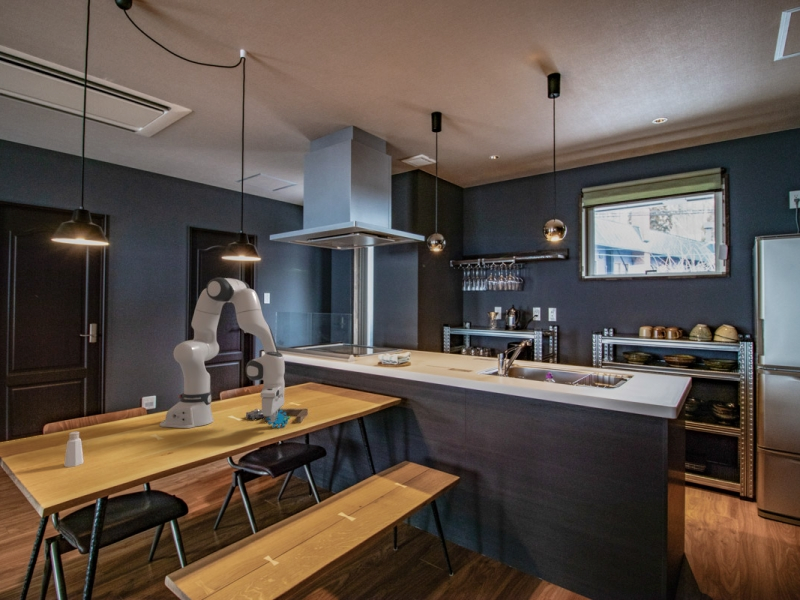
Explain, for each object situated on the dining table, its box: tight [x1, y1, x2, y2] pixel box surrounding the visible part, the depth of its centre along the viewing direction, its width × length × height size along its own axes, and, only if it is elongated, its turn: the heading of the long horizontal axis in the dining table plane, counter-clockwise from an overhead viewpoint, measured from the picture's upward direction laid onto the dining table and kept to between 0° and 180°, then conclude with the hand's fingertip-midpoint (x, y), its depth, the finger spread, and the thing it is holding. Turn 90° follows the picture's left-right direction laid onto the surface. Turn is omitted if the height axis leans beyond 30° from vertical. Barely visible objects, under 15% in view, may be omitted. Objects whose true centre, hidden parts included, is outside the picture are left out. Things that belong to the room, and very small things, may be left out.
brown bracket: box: [263, 408, 309, 424], centre depth 204 cm, size 17×15×3 cm
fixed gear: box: [245, 408, 264, 421], centre depth 206 cm, size 10×10×4 cm
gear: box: [266, 410, 291, 429], centre depth 192 cm, size 11×6×10 cm
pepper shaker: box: [64, 431, 85, 468], centre depth 146 cm, size 5×5×11 cm
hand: (273, 421), depth 184 cm, fingers closed
